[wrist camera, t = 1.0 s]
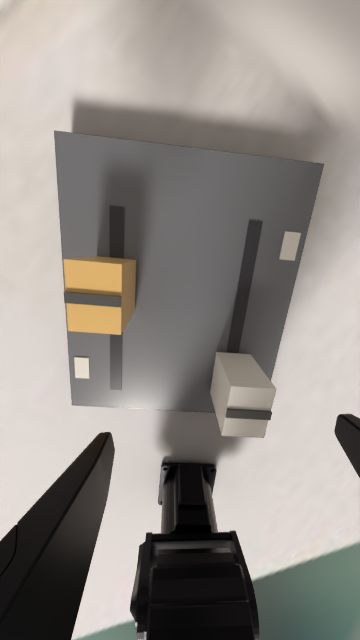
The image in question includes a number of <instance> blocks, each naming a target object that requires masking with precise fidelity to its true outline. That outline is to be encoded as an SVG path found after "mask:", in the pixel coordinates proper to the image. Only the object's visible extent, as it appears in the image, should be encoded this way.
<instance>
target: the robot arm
mask: <svg viewBox="0 0 360 640" xmlns="http://www.w3.org/2000/svg"><path fill="white" fill-rule="evenodd" d="M335 435H336V437H337V439H338V441H339V443H340V444H341V446H342V448H343V450H344V451H345V453H346V455H347V457H348V458H349V460H350V462H351V464H352V465H353V467H354V469H355V471H356V472H357V474H358V476H359V477H360V418H358V417H356V416H354V415H352V414H340V415H338V417H337V421H336V426H335ZM114 453H115V448H114V443H113V438H112V434H111V433H110V432H104V433H100V434H98V435H97V437H96V438H95V439H94V440H93V441H92V442H91V443H90V444H89V445H88V446H87V447H86V449H85V450H84V451H83V452H82V453H81V454H80V455H79V456H78V457H77V458H76V459H75V461H74V462H73V463H72V464H71V465H70V466H69V467H68V468H67V469H66V470H65V471H64V472H63V474H62V475H61V476H60V477H59V478H58V479H57V480H56V481H55V482H54V483H53V484H52V486H51V487H50V488H49V489H48V490H47V491H46V492H45V493H44V494H43V495H42V496H41V498H40V499H39V500H38V501H37V502H36V503H35V504H34V505H33V506H32V507H31V508H30V510H29V511H28V512H27V513H26V514H25V515H24V516H23V517H22V518H21V519H20V520H19V521H18V523H17V525H15V526H14V527H13V528H12V529H11V530H10V531H9V532H8V533H7V534H6V535H5V537H4V538H3V539H2V540H1V541H0V640H71V637H72V633H73V630H74V626H75V622H76V618H77V614H78V610H79V606H80V602H81V599H82V595H83V591H84V587H85V583H86V579H87V575H88V572H89V568H90V564H91V560H92V556H93V552H94V548H95V544H96V541H97V537H98V533H99V529H100V525H101V521H102V517H103V513H104V510H105V506H106V501H107V497H108V491H109V485H110V479H111V472H112V466H113V460H114ZM215 476H216V466H215V465H213V464H189V463H163V464H162V465H161V474H160V485H159V497H158V504H159V505H162V522H161V534H152V532H151V533H146V541H145V542H144V543H143V544H141V545H140V546H139V555H138V564H137V571H136V576H135V582H134V587H133V592H132V597H131V604H130V612H131V614H132V616H133V618H134V619H135V629H137V640H258V639H259V620H258V611H257V604H256V599H255V594H254V589H253V585H252V581H251V578H250V574H249V571H248V568H247V565H246V562H245V559H244V556H243V553H242V549H241V546H240V543H239V540H238V537H237V534H236V531H230V532H218V530H217V524H216V517H215V511H214V505H213V499H212V492H213V487H214V482H215Z"/></svg>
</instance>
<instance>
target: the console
mask: <svg viewBox="0 0 360 640" xmlns="http://www.w3.org/2000/svg"><path fill="white" fill-rule="evenodd" d="M54 138H55V153H56V169H57V184H58V200H59V215H60V230H61V246H62V261H63V276H64V292H65V291H66V290H65V274H64V259H70V258H80V257H90V256H100V257H111V258H122V259H133V260H136V286H135V312H134V314H133V315H132V317H131V319H130V320H129V322H128V324H127V326H126V327H125V329H124V331H123V332H122V334H121V335H116V334H102V333H88V332H74V331H68V322H67V306H66V303H65V307H66V323H67V338H68V353H69V369H70V384H71V399H72V405H75V406H94V407H113V408H133V409H152V410H171V411H190V412H209V413H216V412H215V409H214V405H213V401H212V397H211V393H210V389H211V383H212V376H213V370H214V363H215V357H216V352H224V353H239V354H251V356H252V357H253V358H254V360H255V361H256V362H257V364H258V365H259V366H260V368H261V369H262V370H263V372H264V373H265V374H266V376H267V377H268V378H269V380H270V381H271V378H272V374H273V370H274V366H275V362H276V357H277V353H278V349H279V345H280V341H281V337H282V333H283V329H284V325H285V321H286V317H287V313H288V309H289V304H290V300H291V296H292V292H293V288H294V284H295V280H296V276H297V272H298V268H299V264H300V260H301V256H302V252H303V247H304V243H305V239H306V235H307V231H308V227H309V223H310V219H311V215H312V211H313V207H314V203H315V199H316V194H317V190H318V186H319V182H320V178H321V174H322V170H323V166H324V164H321V163H313V162H305V161H297V160H289V159H281V158H273V157H265V156H257V155H248V154H240V153H232V152H224V151H216V150H208V149H200V148H192V147H184V146H175V145H167V144H159V143H151V142H143V141H135V140H127V139H119V138H111V137H103V136H94V135H86V134H78V133H70V132H62V131H54Z"/></svg>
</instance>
